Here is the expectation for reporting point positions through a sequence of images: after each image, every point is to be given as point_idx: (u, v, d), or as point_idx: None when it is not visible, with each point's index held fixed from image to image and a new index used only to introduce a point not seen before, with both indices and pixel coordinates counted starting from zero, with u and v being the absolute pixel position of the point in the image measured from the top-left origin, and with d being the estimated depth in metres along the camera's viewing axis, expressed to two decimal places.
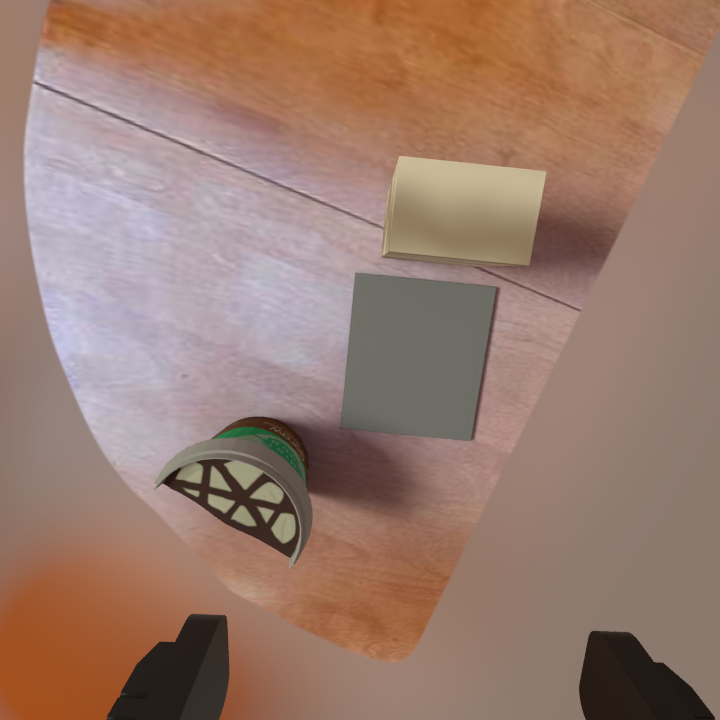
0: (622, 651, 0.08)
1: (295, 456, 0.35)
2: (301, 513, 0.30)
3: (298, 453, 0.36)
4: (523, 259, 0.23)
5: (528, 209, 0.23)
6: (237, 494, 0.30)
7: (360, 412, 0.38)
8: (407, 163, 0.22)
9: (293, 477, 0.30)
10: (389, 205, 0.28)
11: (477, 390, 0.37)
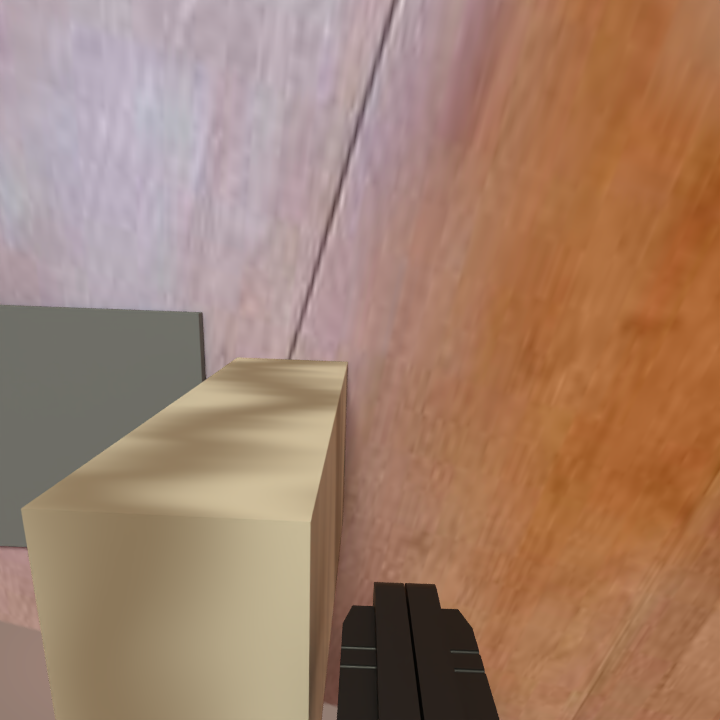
0: (417, 598, 0.09)
1: None
2: None
3: None
4: None
5: None
6: None
7: None
8: (290, 545, 0.07)
9: None
10: (282, 404, 0.13)
11: None
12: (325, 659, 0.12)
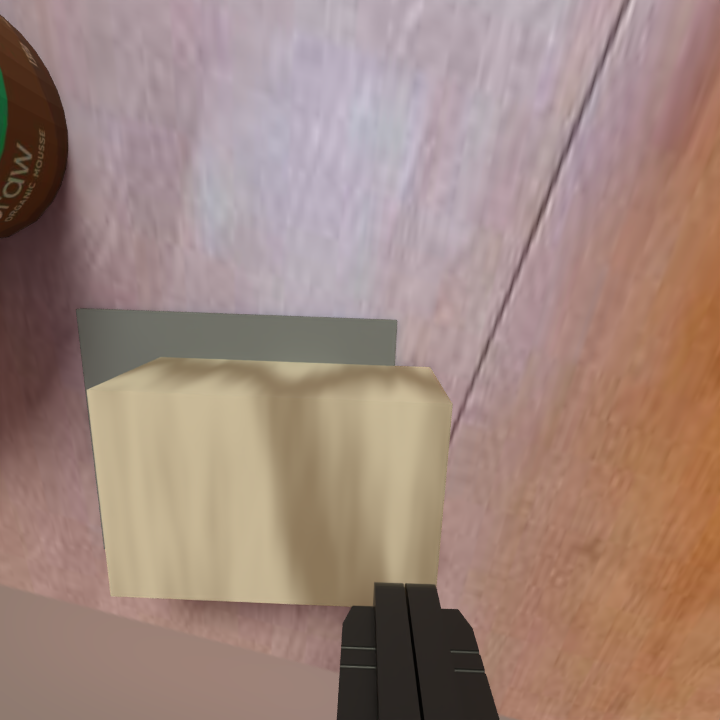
0: (417, 598, 0.09)
1: None
2: None
3: None
4: None
5: None
6: None
7: (118, 348, 0.18)
8: None
9: None
10: (276, 382, 0.15)
11: None
12: (205, 575, 0.15)
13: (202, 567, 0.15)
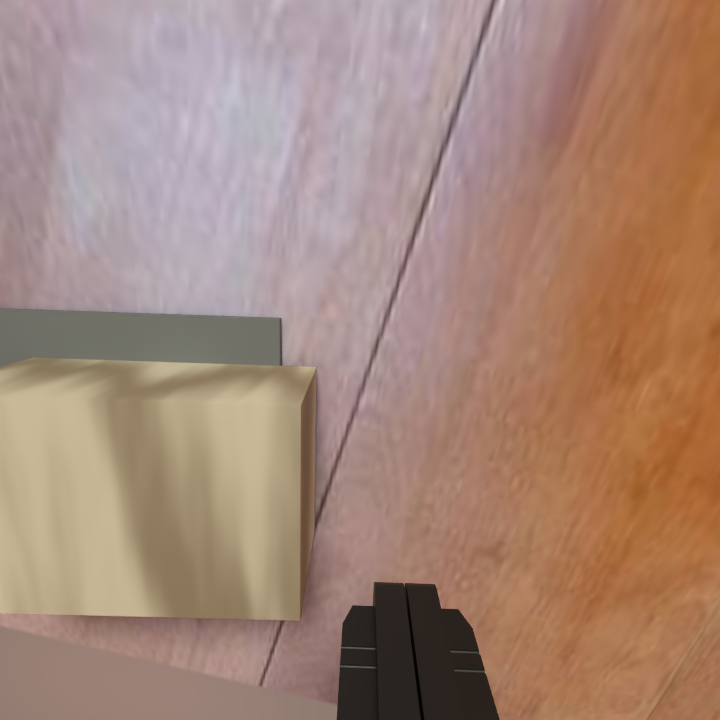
0: (417, 598, 0.09)
1: None
2: None
3: None
4: None
5: None
6: None
7: None
8: None
9: None
10: (132, 384, 0.14)
11: None
12: (55, 588, 0.14)
13: (52, 580, 0.14)
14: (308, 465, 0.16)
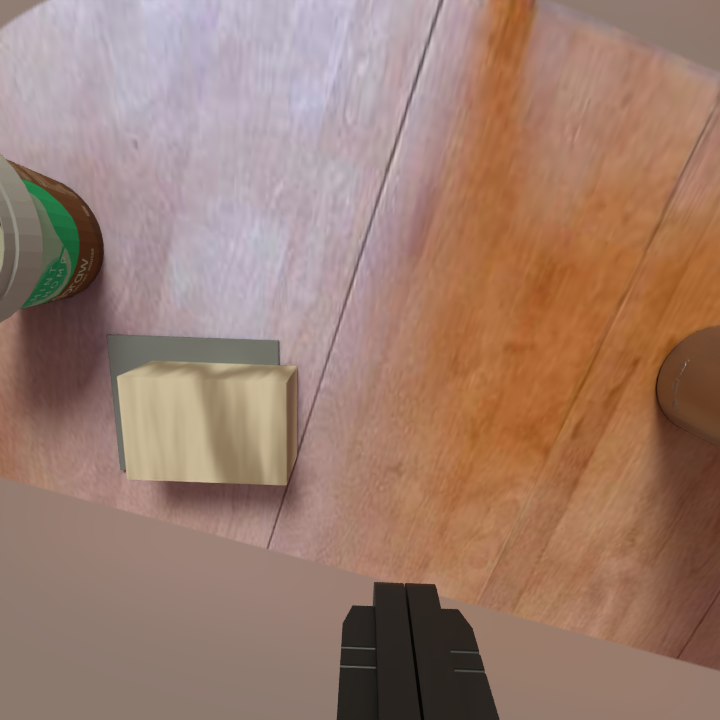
0: (417, 598, 0.09)
1: (50, 295, 0.29)
2: None
3: (58, 295, 0.31)
4: None
5: None
6: None
7: (129, 356, 0.34)
8: None
9: (6, 309, 0.25)
10: (208, 373, 0.31)
11: None
12: (173, 468, 0.31)
13: (172, 463, 0.31)
14: (291, 414, 0.32)
